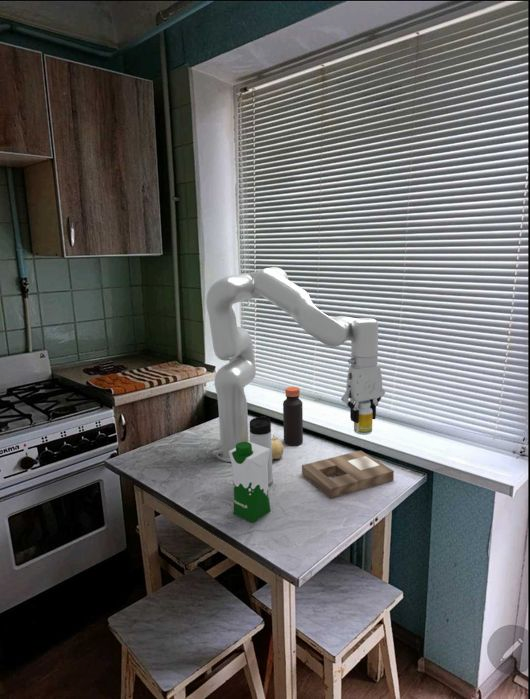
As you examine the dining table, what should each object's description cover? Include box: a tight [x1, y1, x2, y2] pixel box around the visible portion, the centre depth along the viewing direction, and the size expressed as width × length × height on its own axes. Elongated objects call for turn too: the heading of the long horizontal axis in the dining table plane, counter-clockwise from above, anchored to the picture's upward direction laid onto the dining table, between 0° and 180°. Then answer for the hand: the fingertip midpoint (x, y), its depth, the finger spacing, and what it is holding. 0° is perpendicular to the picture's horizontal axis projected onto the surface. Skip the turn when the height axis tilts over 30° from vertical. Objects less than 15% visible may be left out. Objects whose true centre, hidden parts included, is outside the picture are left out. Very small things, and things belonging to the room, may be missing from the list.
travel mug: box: [249, 415, 274, 488], centre depth 137 cm, size 6×7×20 cm
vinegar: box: [282, 386, 304, 447], centre depth 165 cm, size 7×7×20 cm
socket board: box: [301, 449, 395, 500], centre depth 141 cm, size 22×16×3 cm
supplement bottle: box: [353, 400, 373, 436], centre depth 139 cm, size 5×5×10 cm
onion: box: [271, 434, 285, 461], centre depth 155 cm, size 8×8×7 cm
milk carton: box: [229, 441, 271, 524], centre depth 122 cm, size 9×9×20 cm
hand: (363, 419), depth 140 cm, fingers closed on supplement bottle, 5 cm apart
